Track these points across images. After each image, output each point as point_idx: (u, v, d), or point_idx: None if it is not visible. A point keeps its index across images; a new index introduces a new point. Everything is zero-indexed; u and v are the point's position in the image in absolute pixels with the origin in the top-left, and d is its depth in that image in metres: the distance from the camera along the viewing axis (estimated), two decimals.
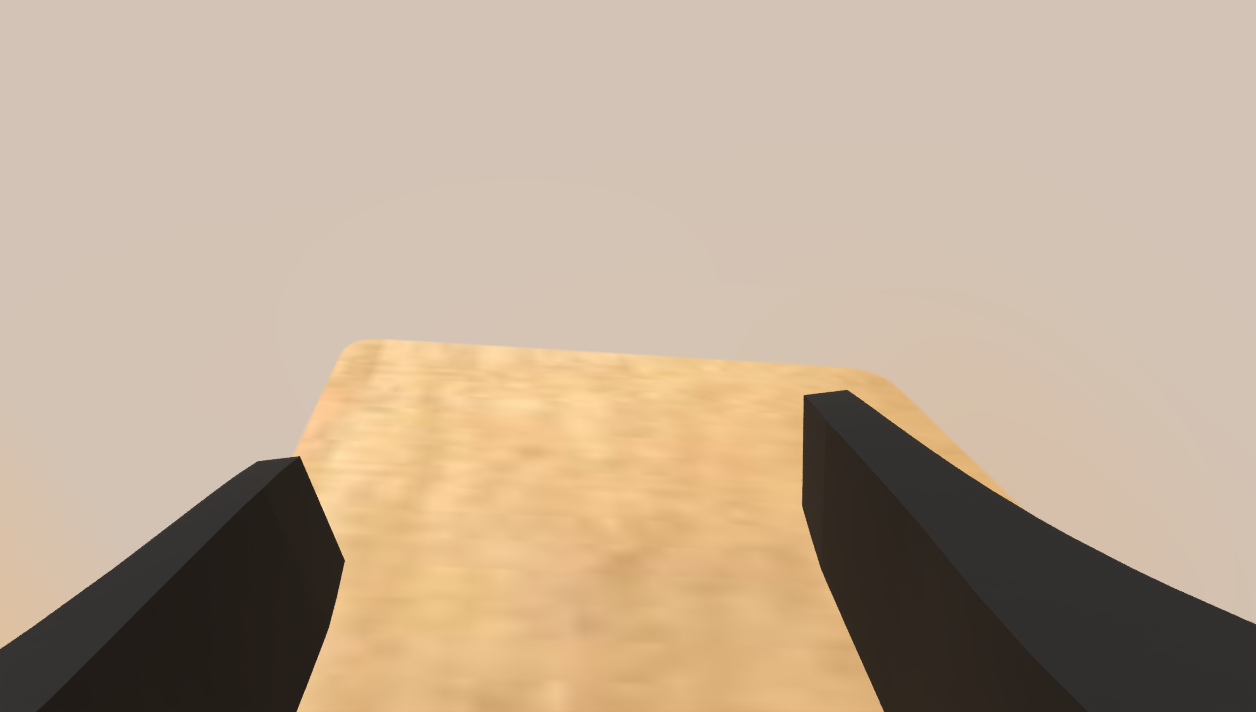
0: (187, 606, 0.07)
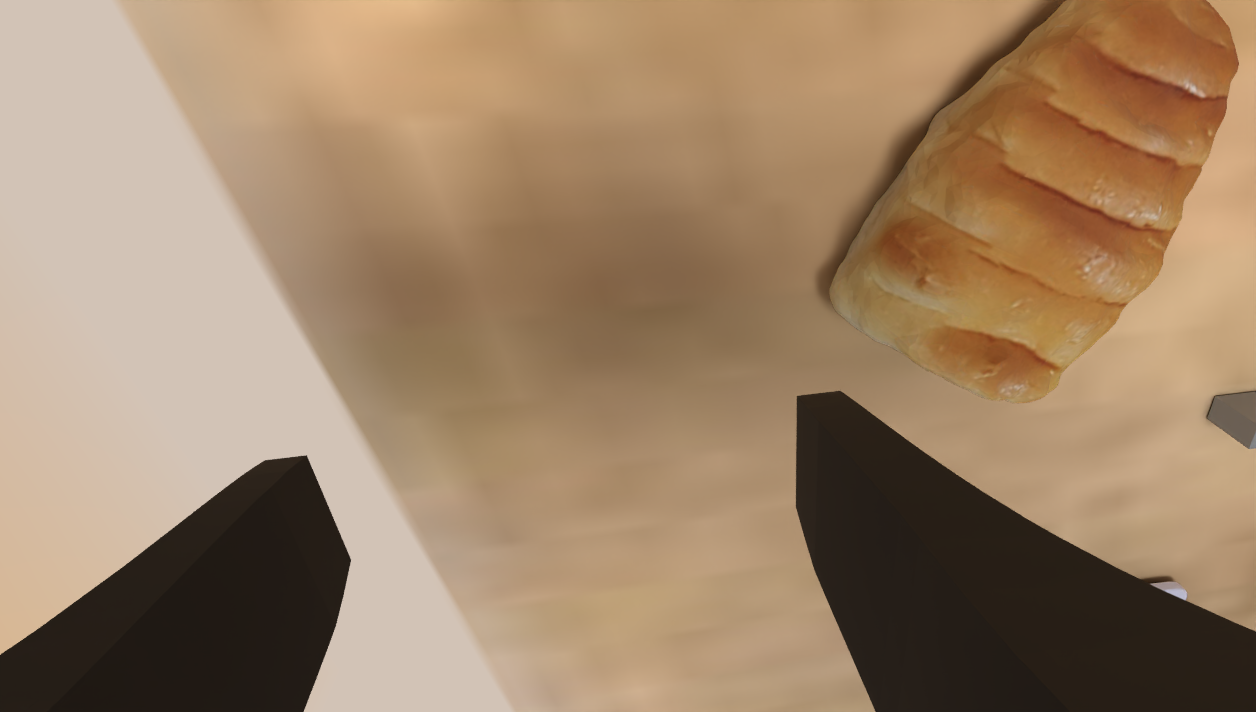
0: (197, 606, 0.07)
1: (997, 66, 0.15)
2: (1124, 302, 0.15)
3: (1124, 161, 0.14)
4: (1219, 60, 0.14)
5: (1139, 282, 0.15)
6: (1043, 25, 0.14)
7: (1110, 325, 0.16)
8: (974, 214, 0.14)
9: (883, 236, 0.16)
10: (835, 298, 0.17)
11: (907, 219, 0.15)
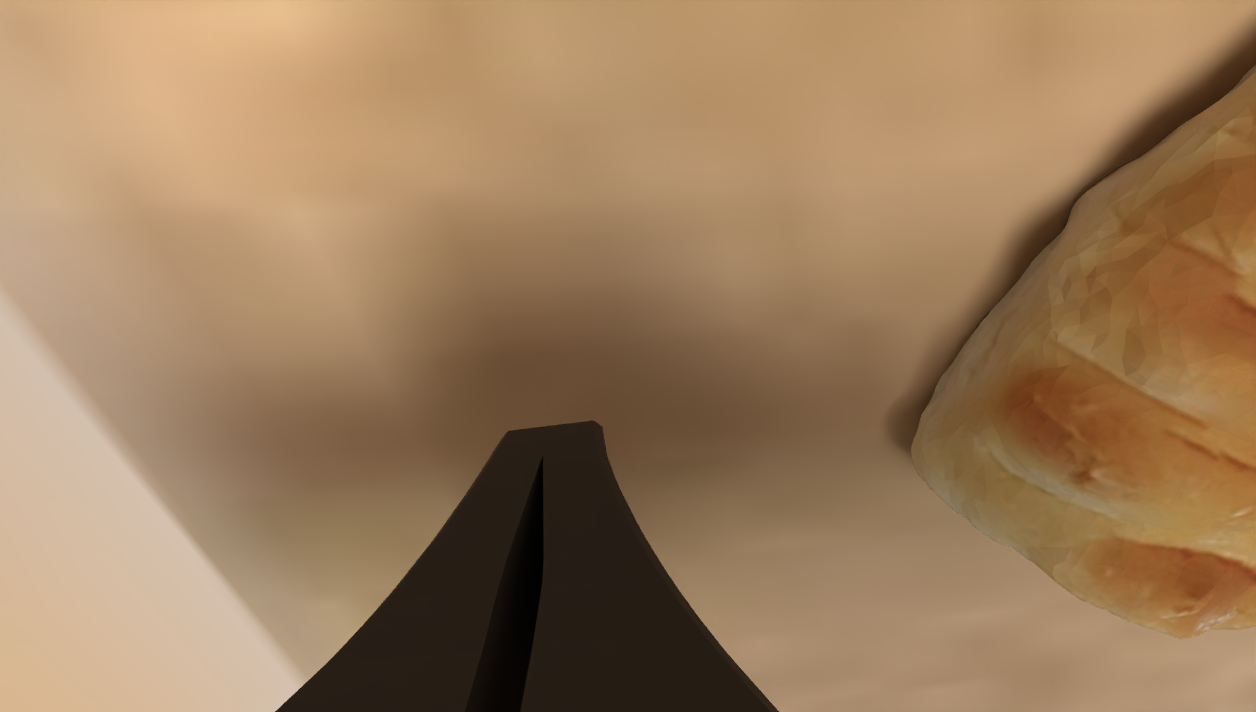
0: (521, 567, 0.07)
1: (1208, 127, 0.09)
2: None
3: None
4: None
5: None
6: None
7: None
8: (1184, 379, 0.08)
9: (1009, 390, 0.10)
10: (924, 468, 0.11)
11: (1052, 369, 0.10)
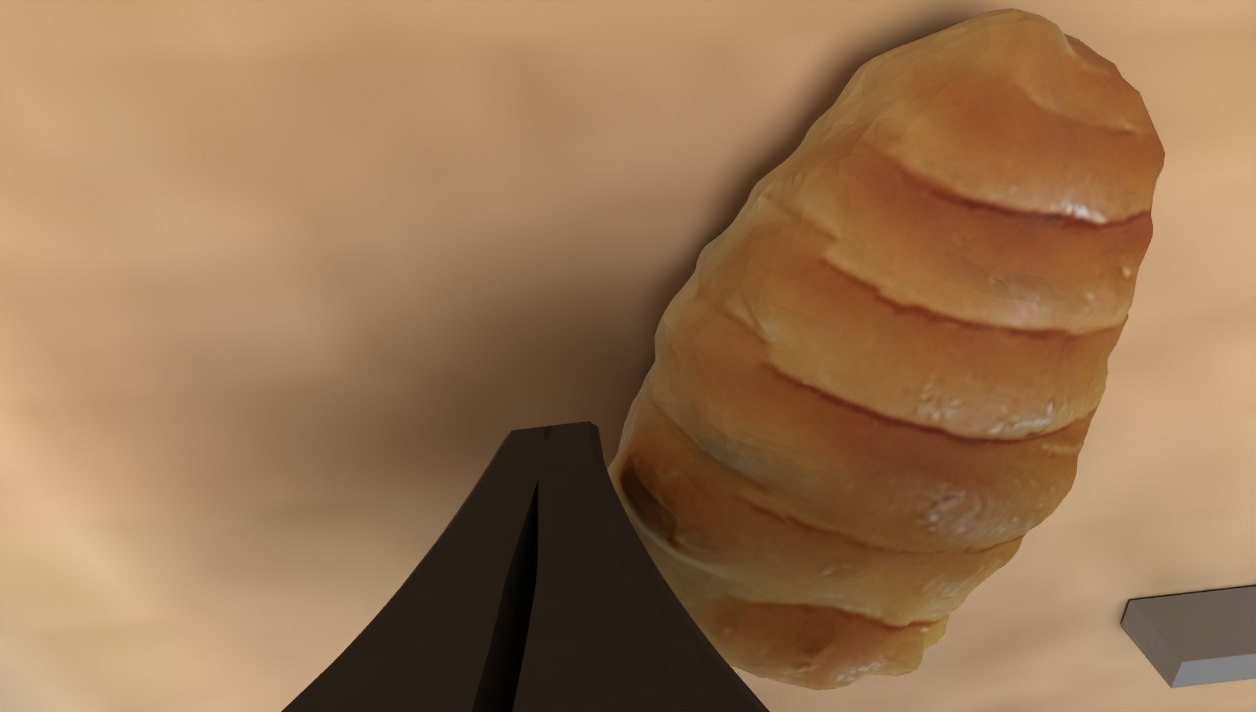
0: (526, 568, 0.07)
1: (757, 190, 0.09)
2: (1019, 536, 0.10)
3: (968, 349, 0.08)
4: (1126, 156, 0.08)
5: (1035, 513, 0.09)
6: (823, 118, 0.09)
7: (1005, 562, 0.10)
8: (729, 448, 0.08)
9: (626, 455, 0.10)
10: None
11: (654, 433, 0.10)
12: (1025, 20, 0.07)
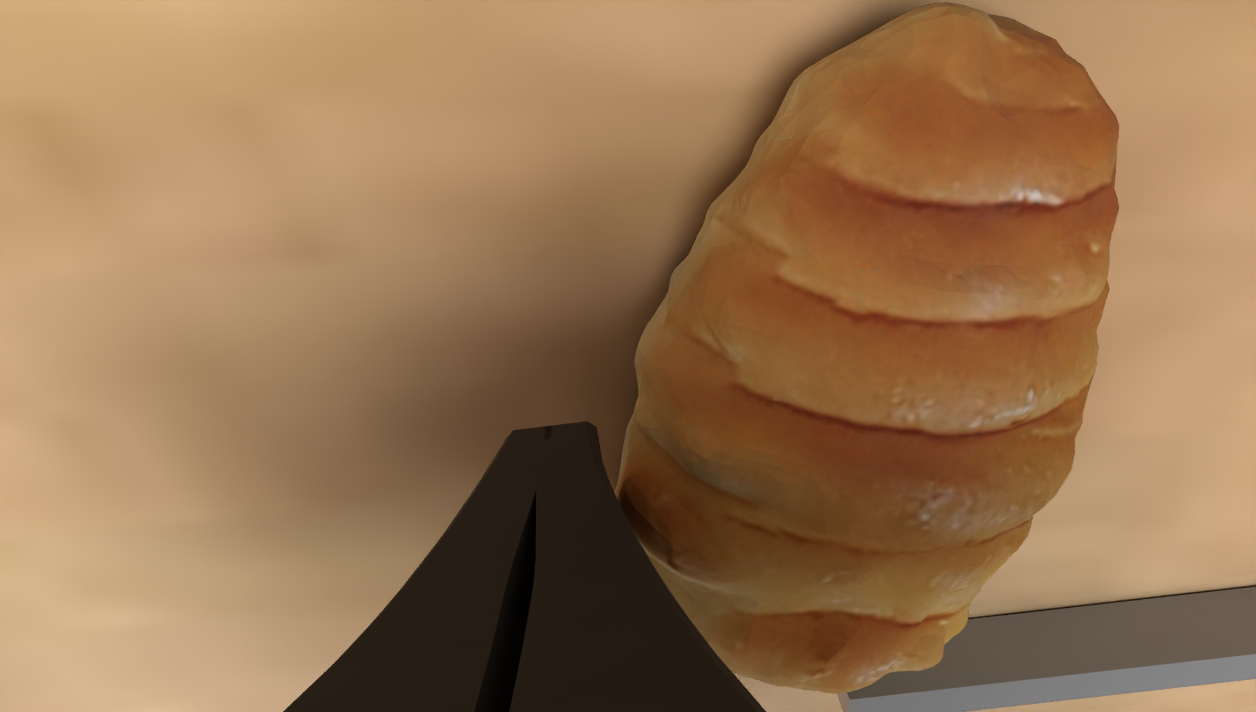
0: (528, 567, 0.07)
1: (710, 212, 0.09)
2: (1023, 522, 0.09)
3: (935, 348, 0.08)
4: (1075, 133, 0.08)
5: (1034, 500, 0.09)
6: (765, 134, 0.09)
7: (1015, 548, 0.10)
8: (710, 469, 0.09)
9: (621, 481, 0.10)
10: None
11: (644, 459, 0.10)
12: (948, 14, 0.07)
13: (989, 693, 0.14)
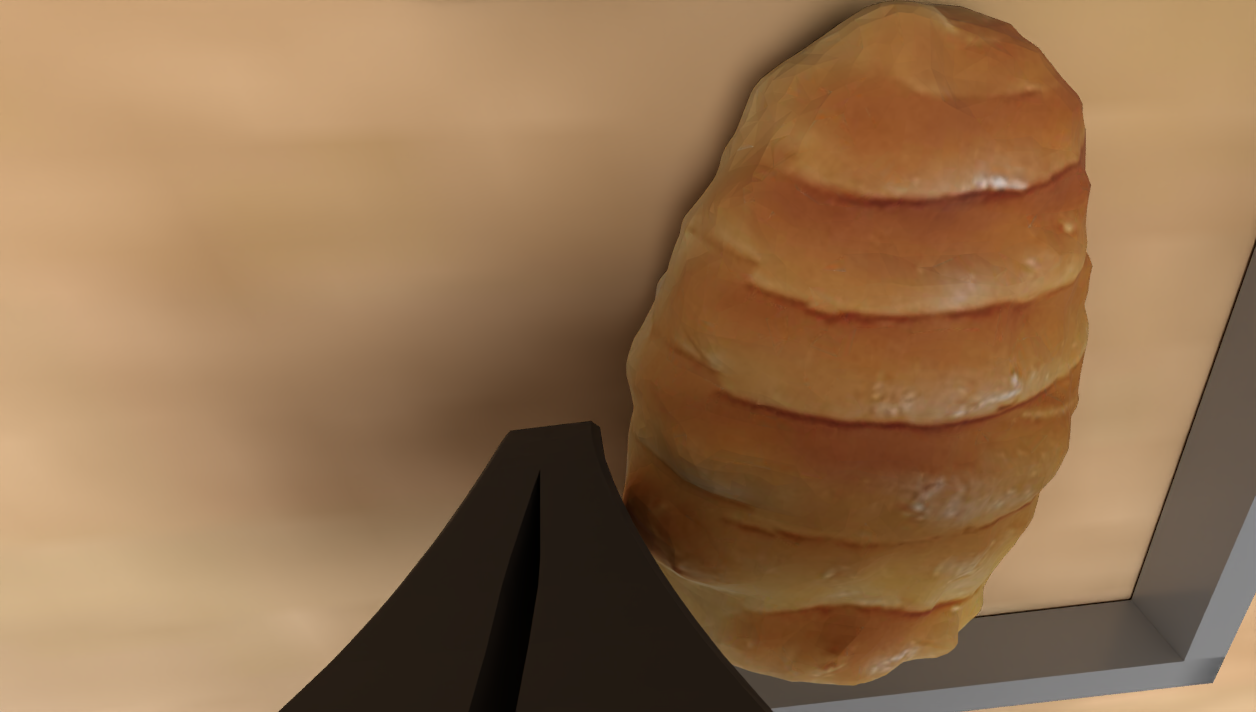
0: (524, 567, 0.07)
1: (684, 224, 0.09)
2: (1024, 504, 0.09)
3: (911, 342, 0.08)
4: (1034, 117, 0.08)
5: (1031, 482, 0.09)
6: (730, 144, 0.09)
7: (1021, 530, 0.10)
8: (702, 476, 0.09)
9: (624, 491, 0.10)
10: None
11: (643, 469, 0.10)
12: (894, 12, 0.07)
13: None
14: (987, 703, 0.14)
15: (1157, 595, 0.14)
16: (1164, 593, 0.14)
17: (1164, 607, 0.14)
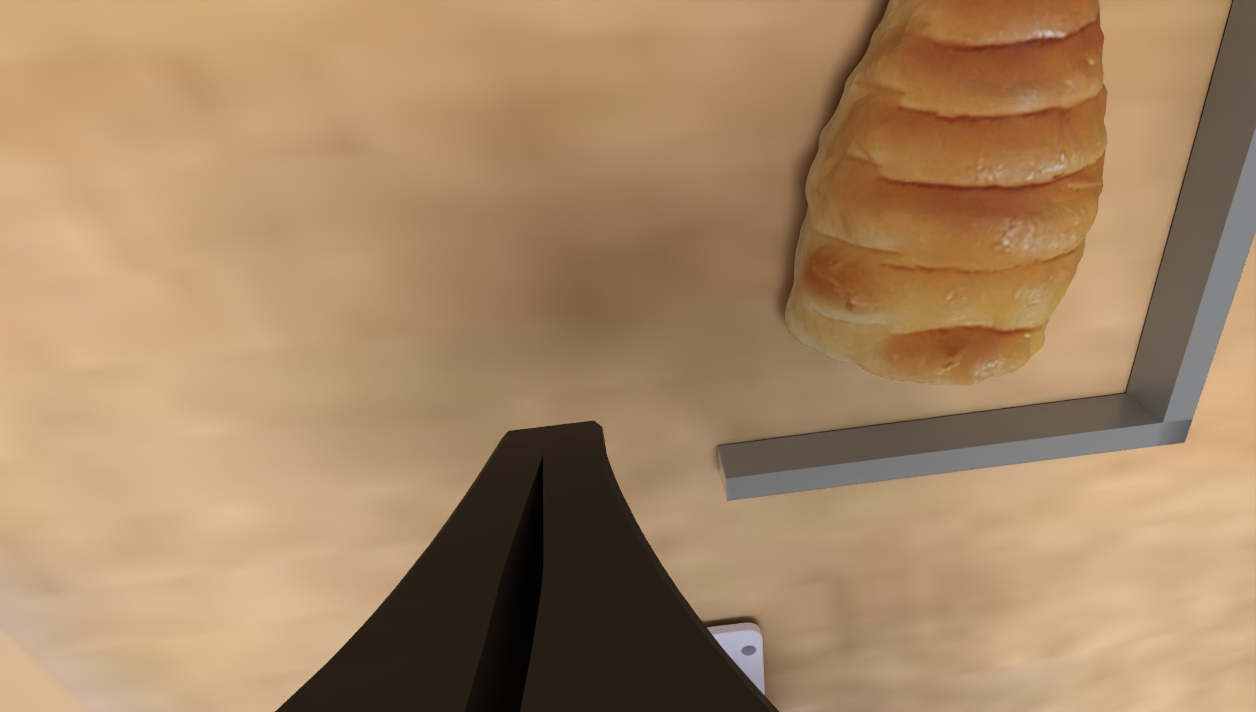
0: (522, 568, 0.07)
1: (849, 82, 0.15)
2: (1071, 250, 0.15)
3: (1000, 133, 0.14)
4: None
5: (1075, 229, 0.14)
6: (878, 27, 0.14)
7: (1069, 273, 0.15)
8: (871, 233, 0.14)
9: (805, 269, 0.16)
10: (791, 331, 0.17)
11: (820, 249, 0.16)
12: None
13: (825, 474, 0.19)
14: (1022, 458, 0.19)
15: (1144, 381, 0.19)
16: (1149, 377, 0.19)
17: (1149, 388, 0.19)
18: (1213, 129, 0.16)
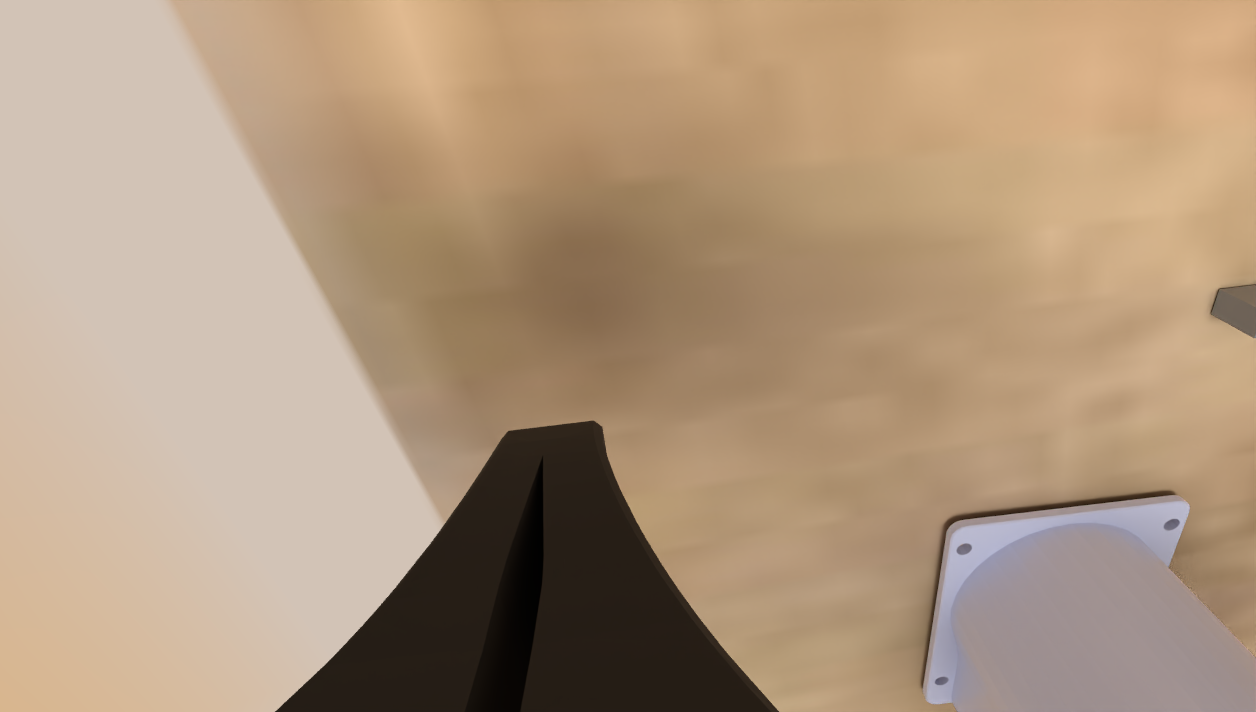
0: (522, 568, 0.07)
1: None
2: None
3: None
4: None
5: None
6: None
7: None
8: None
9: None
10: None
11: None
12: None
13: None
14: None
15: None
16: None
17: None
18: None
